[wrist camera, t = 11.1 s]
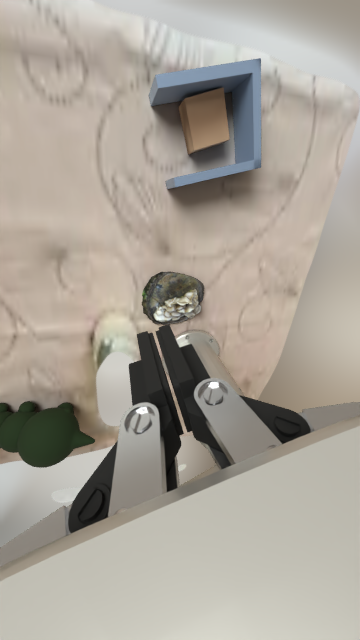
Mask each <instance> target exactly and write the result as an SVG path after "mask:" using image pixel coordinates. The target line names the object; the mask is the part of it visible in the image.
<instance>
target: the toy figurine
mask: <svg viewBox="0 0 360 640" xmlns="http://www.w3.org/2000/svg"><path fill="white" fill-rule="evenodd" d="M7 410H8V406H7V404H6V403H0V448H2V449H3V450H5V451H8V452H13V453H15V452H19V455H20V456H21V458H22V459H23V461H24V462H26V463H27V464H29V465H31V466H34V467H49V466H52V465H55V464H57V463H59V462H60V461H62V460H63V459H65V458H66V457H67V456H68V455H69V454H70V453H71V452H72V451H73V449H75V448H78V447H82V446H85V445H89V444H92V443H94V442H95V439H93V438H92V437H90V436H88V435H86V434H85V433H83V432H81V431H80V429H79V423H78V421H77V419H76V417H75V416H74V411H73V406H72V405H71V404H70V403H62V404H61V405H59V406H58V408H48V409H45V410H42V411H40V412H38V413H36V412H34V411H35V404H34V403H32V402H30V401H27V402H24V403H22V404H21V405H20V407H19V410H18V412H15V413H12V412H8V411H7Z"/></svg>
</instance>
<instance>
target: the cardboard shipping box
mask: <svg viewBox="0 0 360 640" xmlns="http://www.w3.org/2000/svg"><path fill="white" fill-rule="evenodd" d="M178 108H179V112H180V117H181V122H182V127H183V132H184V137H185V142H186V147H187V152H188V154H192V153H195V152H198V151H201V150H204V149H207V148H211V147H214V146H217V145H220V144H222V143H224V142H226V141H228V140H230V139H229V130H228V122H227V113H226V105H225V96H224V88H219V89H216V90H212V91H209V92H206V93H202V94H199V95H195V96H192V97H188V98H185V99H184V100H183V102H182V103H181V104H180V106H179V107H178Z"/></svg>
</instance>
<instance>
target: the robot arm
mask: <svg viewBox="0 0 360 640" xmlns="http://www.w3.org/2000/svg"><path fill="white" fill-rule="evenodd" d="M156 335H157V338H158V341H159V344H160V348H161V351H162V354H163V355H162V361H161V358H160V355H159V352H158V349H157V346H156V343H155V340H154V336H153V333H149V334H148V332H147V331H146V332H143V333H140V334H137V338H138V344H139V349H140V355H141V360H140V361H137V362H134V363H131V364H129V373H130V383H131V394H132V403H133V406H132V407H131V408H129V410H127V411H126V413H125V414H124V416H123V417H122V419H121V423H120V429H119V436H118V441H117V442H116V443H115V445H114V446H113V448H112V449H111V450H110V452H109V453H108V454H107V456H106V457H105V458H104V460H103V461H102V462H101V464H100V465H99V467H98V468H97V469H96V470H95V472H94V473H93V475H92V476H91V477H90V478H89V480H88V481H87V483H86V484H85V485H84V487H83V488H82V489H81V491H80V492H79V493H78V495H77V496H76V498H75V500H74V501H73V503H72V504H71V505H69V506H68V507H65V506H63V507H61V508H59V509H58V510H56V511H55V512H53V513H52V514H50V515H49V516H47V517H46V518H44V519H43V520H41V521H40V522H38V523H37V524H35V525H34V526H32V527H31V528H29V529H27V530H26V531H24V532H23V533H21V534H20V535H18V536H17V537H15V538H14V539H12V540H11V541H9V542H8V543H6V544H5V545H3V546H2V547H0V640H360V402H351V403H344V404H337V405H331V406H323V407H316V408H309V409H303V410H302V413H296V412H294V411H291V410H289V409H285V408H282V407H278V406H275V405H272V404H268V403H264V402H261V401H258V400H254V399H251V398H248V397H245V396H244V394H243V393H242V391H241V390H240V388H239V387H238V385H237V384H236V382H235V381H234V379H233V378H232V376H231V375H230V374H229V372H228V371H227V369H226V368H225V366H224V365H223V363H222V362H221V360H220V359H219V357H218V356H219V346H218V343H217V341H216V340H215V339H214V337H213V336H212V335H210V334H209V333H207V332H204V331H201V330H192V331H187V332H184V333H181V334H179V335H178V336H176V337H175V336H174V334H173V332H172V330H171V328H170V326H169V324H168V325H165V326H162V327H159V331H156ZM162 364H163V365H162ZM163 367H164V368H163ZM164 370H165V371H166V373H167V374H168V375H169V377H170V380H171V383H172V386H173V389H174V392H175V395H176V398H177V401H178V404H179V407H180V410H181V414H182V417H183V420H184V423H185V426H186V429H187V432H190V431H192V432H193V435H194V437H195V438H196V440H198V441H200V443H201V444H202V445H203V446H204V447H205V448H207V449H208V450H209V452H210V454H211V456H212V458H213V459H214V461H215V463H216V465H215V466H214V467H212V468H210V469H209V470H207V471H205V472H203V473H201V474H200V475H198V476H196V477H194V478H193V479H191V480H189V481H187V482H185V483H184V484H182V485H181V486H180V484H179V474H178V464H177V458H176V455H177V453H178V451H179V449H180V447H181V440H180V437H179V435H182V434H184V433H183V430H182V426H181V423H180V420H179V417H178V413H177V410H176V407H175V403H174V400H173V397H172V394H171V390H170V387H169V384H168V381H167V377H166V374H165V371H164Z"/></svg>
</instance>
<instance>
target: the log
mask: <svg viewBox="0 0 360 640" xmlns="http://www.w3.org/2000/svg"><path fill="white" fill-rule="evenodd" d="M203 291H204V285H203V284H202V283H201V282H200V281H199V280H198V279H196V278H194V277H191V276H188V275H185V274H180V273H175V272H160V273H158V274H156V275H155V276H153V277H151V279H150V280H149V282H148V283H147V285H146V286H145V288H144V290H143V294H142V296H143V301H142V306H143V313H144V314H146V315H147V316H148V318H149V319H150V320H152V321H153V323H155V324H163V325H166V324H170V323H171V324H172V323H173V324H174V323H178V322H183V321H186V320H187V319H188V317H189V318H193V317H194V316H195V315H196V314H197V313H199V312H200V310H201V306H200V302H201V301H202V300H203V294H204V293H203Z"/></svg>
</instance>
